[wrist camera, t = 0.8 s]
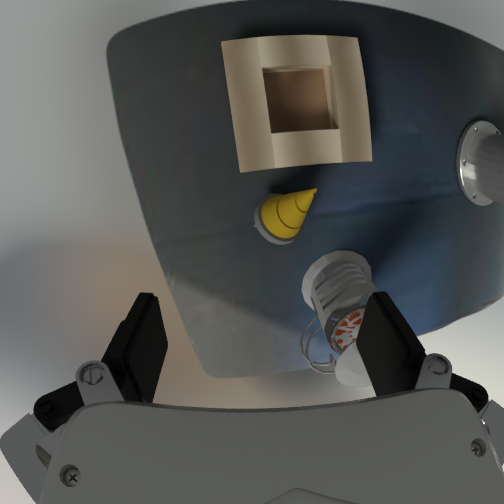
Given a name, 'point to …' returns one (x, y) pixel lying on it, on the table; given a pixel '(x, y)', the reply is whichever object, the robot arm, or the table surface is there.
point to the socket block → (297, 100)
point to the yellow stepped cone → (283, 215)
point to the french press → (339, 310)
